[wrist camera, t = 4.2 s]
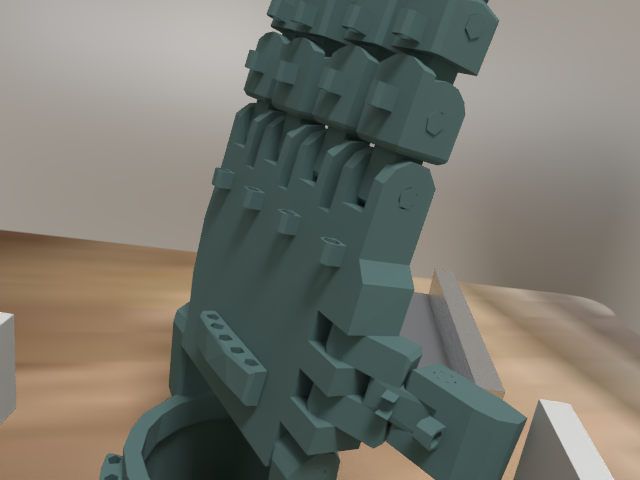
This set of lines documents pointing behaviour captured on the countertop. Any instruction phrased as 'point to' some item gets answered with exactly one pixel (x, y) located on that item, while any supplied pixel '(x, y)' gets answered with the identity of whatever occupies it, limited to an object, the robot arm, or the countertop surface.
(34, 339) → the countertop surface
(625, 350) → the countertop surface
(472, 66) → the robotic hand
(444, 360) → the rail dock
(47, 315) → the countertop surface
